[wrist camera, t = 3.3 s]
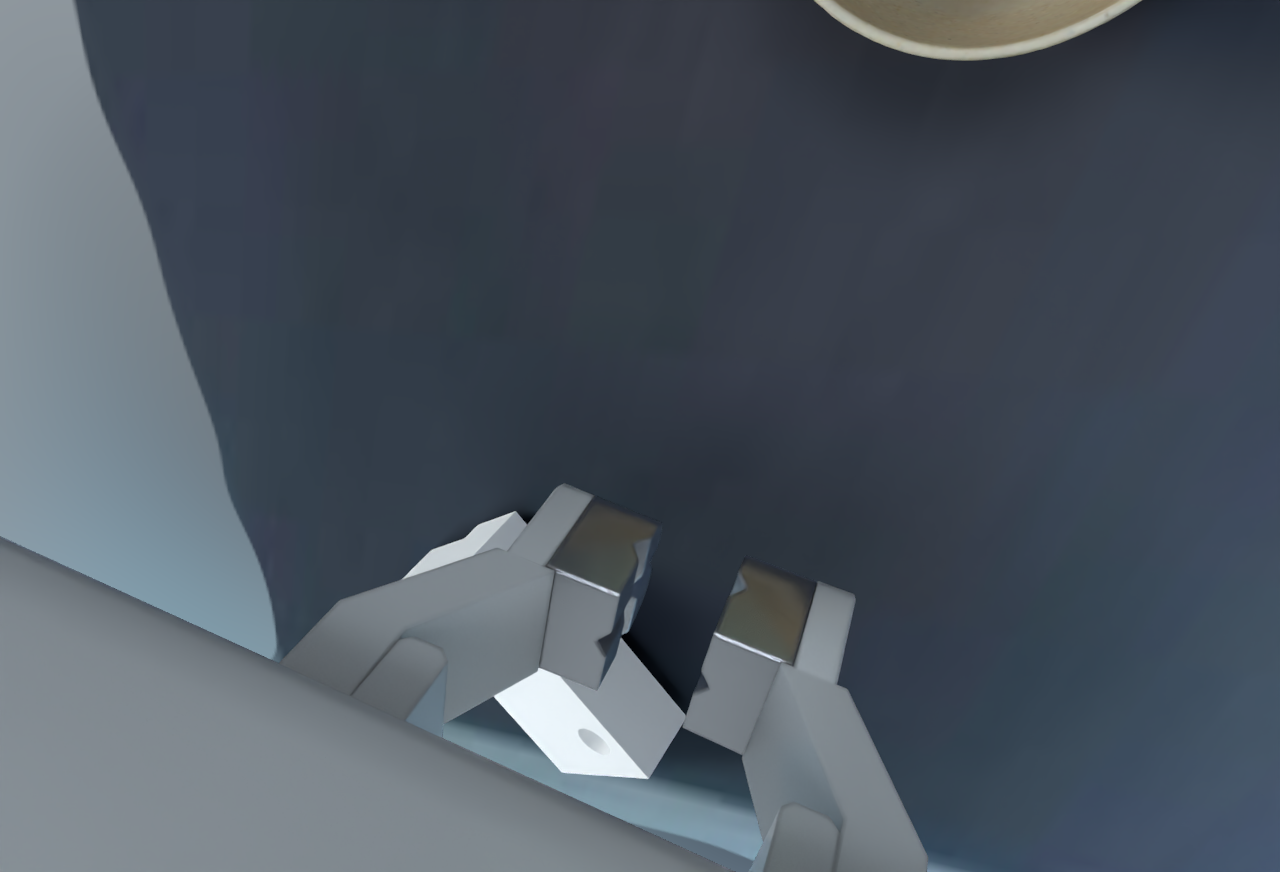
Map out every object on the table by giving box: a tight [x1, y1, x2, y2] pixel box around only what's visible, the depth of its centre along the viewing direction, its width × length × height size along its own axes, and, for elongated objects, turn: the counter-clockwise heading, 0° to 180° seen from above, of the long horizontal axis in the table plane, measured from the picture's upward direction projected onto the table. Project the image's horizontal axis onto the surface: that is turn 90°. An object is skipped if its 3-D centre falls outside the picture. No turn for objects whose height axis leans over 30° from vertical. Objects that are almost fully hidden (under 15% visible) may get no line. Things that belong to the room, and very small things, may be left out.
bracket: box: [403, 511, 686, 779], centre depth 40 cm, size 13×7×8 cm, turn 39°
